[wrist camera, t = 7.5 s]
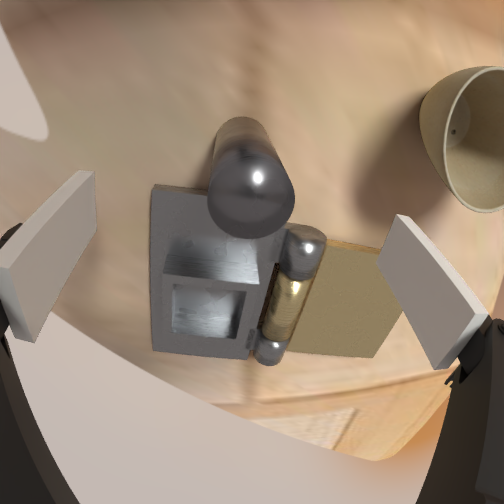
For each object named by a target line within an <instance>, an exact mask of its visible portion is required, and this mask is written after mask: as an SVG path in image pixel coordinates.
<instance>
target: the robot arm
mask: <svg viewBox="0 0 504 504" xmlns="http://www.w3.org/2000/svg"><path fill="white" fill-rule="evenodd" d="M96 231H97V221H96V202H95V171H84V170H78V171H77V172H76V173H75V174H74V175H73V176H71V177H70V178H69V179H68V180H67V181H66V182H65V183H64V184H63V185H62V186H61V187H59V188H58V189H57V190H56V191H55V192H54V193H53V194H52V195H51V196H50V197H49V198H48V199H47V200H46V201H45V202H44V203H43V204H42V205H41V206H40V207H39V208H38V209H37V210H36V211H35V212H34V213H33V214H32V215H31V216H30V217H29V218H28V219H27V220H26V221H25V222H24V223H19V224H17V225H16V226H14V227H13V228H11V229H9V230H8V231H7V232H6V233H5V234H4V235H3V236H2V238H1V240H0V504H80V503H79V502H78V500H77V498H76V497H75V495H74V494H73V492H72V490H71V489H70V487H69V486H68V484H67V482H66V480H65V478H64V477H63V475H62V473H61V471H60V469H59V468H58V466H57V464H56V462H55V460H54V458H53V456H52V455H51V452H50V450H49V448H48V446H47V444H46V442H45V441H44V438H43V436H42V434H41V432H40V429H39V427H38V425H37V423H36V420H35V418H34V416H33V413H32V411H31V408H30V406H29V404H28V401H27V398H26V396H25V393H24V390H23V388H22V385H21V382H20V379H19V377H18V374H17V371H16V368H15V365H14V362H13V358H12V355H11V352H10V348H9V345H8V341H7V339H6V337H5V334H4V333H5V331H6V330H7V328H8V326H9V325H10V327H11V330H12V332H13V335H14V337H15V338H17V339H21V340H24V341H28V342H32V343H35V341H36V339H37V337H38V335H39V333H40V331H41V329H42V327H43V324H44V322H45V320H46V318H47V317H48V314H49V312H50V311H51V309H52V307H53V305H54V303H55V301H56V299H57V297H58V295H59V294H60V292H61V290H62V288H63V286H64V284H65V283H66V281H67V279H68V277H69V276H70V274H71V272H72V270H73V269H74V267H75V265H76V263H77V262H78V260H79V258H80V257H81V255H82V253H83V252H84V250H85V248H86V247H87V245H88V244H89V242H90V240H91V239H92V237H93V236H94V234H95V232H96ZM376 265H377V266H378V268H379V270H380V271H381V273H382V275H383V276H384V278H385V280H386V282H387V283H388V285H389V287H390V288H391V290H392V292H393V294H394V295H395V297H396V299H397V301H398V302H399V304H400V306H401V308H402V310H403V311H404V313H405V315H406V317H407V319H408V321H409V322H410V324H411V326H412V328H413V330H414V332H415V334H416V336H417V337H418V339H419V341H420V343H421V345H422V347H423V349H424V351H425V353H426V355H427V357H428V359H429V361H430V363H431V365H432V367H433V369H434V370H439V369H447V368H449V367H450V365H451V364H452V363H453V362H454V360H455V359H456V358H457V357H458V359H459V361H460V365H459V366H458V367H457V368H456V369H455V371H454V372H453V373H452V374H451V375H450V376H449V378H448V379H447V380H446V381H445V383H444V384H445V385H447V384H448V383H449V382H450V381H453V383H452V384H451V385H450V387H451V388H452V389H451V394H450V398H449V403H448V407H447V411H446V415H445V419H444V422H443V426H442V430H441V433H440V437H439V440H438V443H437V447H436V450H435V453H434V456H433V459H432V462H431V465H430V468H429V471H428V473H427V476H426V479H425V482H424V484H423V487H422V489H421V492H420V494H419V497H418V499H417V502H416V504H504V321H503V320H501V319H494V320H492V319H491V317H490V316H489V313H488V312H487V310H486V309H485V308H484V306H483V305H482V304H481V302H480V301H479V299H478V298H477V297H476V295H475V294H474V293H473V292H472V290H471V289H470V288H469V286H468V285H467V284H466V282H465V281H464V280H463V279H462V277H461V276H460V275H459V274H458V272H457V271H456V270H455V269H454V268H453V266H452V265H451V264H450V263H449V261H448V260H447V259H446V258H445V257H444V255H443V254H442V253H441V252H440V251H439V250H438V248H437V247H436V246H435V245H434V244H433V243H432V242H431V240H430V239H429V238H428V237H427V236H426V235H425V234H424V232H423V231H422V230H421V229H420V228H419V227H418V226H417V225H416V224H415V223H414V222H413V220H412V219H411V218H410V217H408V216H403V215H399V214H396V216H395V218H394V221H393V223H392V226H391V228H390V231H389V233H388V235H387V238H386V240H385V243H384V245H383V247H382V250H381V252H380V254H379V257H378V259H377V261H376Z"/></svg>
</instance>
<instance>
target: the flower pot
mask: <svg viewBox="0 0 504 504" xmlns="http://www.w3.org/2000/svg"><path fill="white" fill-rule="evenodd" d="M419 123H420V131H421V135H422V139H423V143H424V146H425V148H426V151H427V153H428V156H429V158H430V160H431V162H432V164H433V166H434V167H435V169H436V171H437V173H438V174H439V176H440V177H441V179H442V180H443V182H444V183H445V184H446V186H447V187H448V188H449V190H450V191H451V192H452V193H453V195H454V196H455V197H456V198H457V199H458V200H459V201H460V202H461V203H462V204H463V205H464V206H465V207H467V208H469V209H470V210H473V211H475V212H479V213H492V212H496V211H499V210H502V209H504V67H498V66H482V67H474V68H468V69H464V70H461V71H458V72H455V73H453V74H451V75H449V76H447V77H445V78H444V79H442V80H441V81H439V82H438V83H437V84H436V85H434V86H433V87H432V88H431V90H430V91H429V92H428V93H427V95H426V96H425V98H424V100H423V102H422V105H421V108H420V114H419ZM453 130H455V132H453Z"/></svg>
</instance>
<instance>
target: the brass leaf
mask: <svg viewBox="0 0 504 504" xmlns="http://www.w3.org/2000/svg"><path fill="white" fill-rule="evenodd" d="M380 252H381V249H376V248H371V247H366V246H361V245H356V244H351V243H345V242H340V241H335V240H330V239H327V242H326V245H325V248H324V251H323V254H322V256H321V259H320V262H319V265H318V267H317V270H316V273H315V275H314V277H313V278H312V279H309V280H296V279H293V278H290V277H288V276H287V275H285V274H284V273H283V272H282V271H281V269H280V268H279V271H278V275H277V278H276V282H275V285H274V288H273V292H272V295H271V299H270V302H269V305H268V309H267V312H266V315H265V319H264V322H263V325H262V333H263V334H264V336H265V337H266V338H268V339H269V340H271V341H274V342H283V341H286V340H287V339H288V338H289V337H290V340H289V342H288V345H287V347H286V351H292V352H302V353H311V354H322V355H334V356H346V357H361V358H373V357H374V355H375V354H376V352H377V351H378V349H379V348H380V346H381V345H382V343H383V342H384V340H385V339H386V337H387V336H388V334H389V332H390V331H391V329H392V328H393V326H394V325H395V323H396V321H397V320H398V318H399V316H400V315H401V313H402V311H403V310H402V308H401V306H400V304H399V302H398V301H397V299H396V297H395V295H394V294H393V292H392V290H391V288H390V287H389V285H388V283H387V282H386V280H385V278H384V276H383V275H382V273H381V271H380V270H379V268H378V266H377V265H376V261H377V259H378V257H379V254H380Z"/></svg>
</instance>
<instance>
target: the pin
mask: <svg viewBox="0 0 504 504" xmlns="http://www.w3.org/2000/svg"><path fill="white" fill-rule="evenodd" d="M294 203H295V194H294V189H293V186H292V183H291V181H290V179H289V177H288V175H287V173H286V171H285V169H284V167H283V165H282V163H281V161H280V159H279V157H278V155H277V153H276V151H275V149H274V147H273V145H272V143H271V141H270V139H269V137H268V135H267V133H266V131H265V129H264V128H263V126H262V125H261V124H260V123H259V122H257V121H256V120H254V119H252V118H248V117H236V118H233V119H230V120H228V121H227V122H225V123H224V124H223V125H222V126H221V128H220V129H219V131H218V133H217V136H216V141H215V147H214V154H213V160H212V167H211V174H210V181H209V188H208V195H207V206H208V210H209V213H210V216H211V218H212V220H213V221H214V223H215V224H216V225H217V226H218V227H219V228H220V229H221V230H223V231H224V232H225V233H227V234H229V235H231V236H234V237H237V238H241V239H258V238H263V237H266V236H268V235H271V234H273V233H274V232H276V231H277V230H279V229H280V228H281V227H282V226H283V225H284V224H285V223H286V222H287V221H288V219H289V217H290V216H291V214H292V211H293V208H294Z"/></svg>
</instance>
